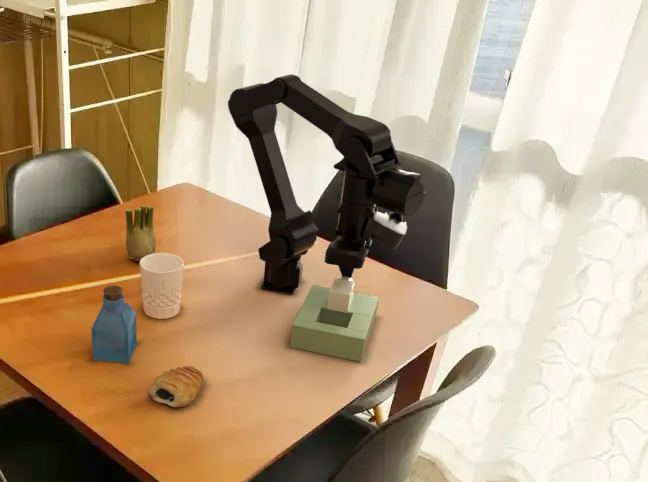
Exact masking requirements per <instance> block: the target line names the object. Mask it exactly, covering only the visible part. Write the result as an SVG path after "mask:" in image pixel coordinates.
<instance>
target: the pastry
mask: <svg viewBox="0 0 648 482" xmlns="http://www.w3.org/2000/svg"><path fill="white" fill-rule="evenodd" d="M203 381H204V374H203V373H202V371H200V370H199V369H197V368H196V367H194V366H190V365H185V366H181V367H179V366H177V367H176V368H170V369H169V370H166V371H163V373H162V375H159V376H157V377H156V378H155V380H154V382H153V384H152V386H151V388H149V390H148V394H149V396H150V397H151V399H152V400H153V401H155V402H157V403H159V404H162V405H168V406H170V407H172V408H183V407H186V406H188V405H190V404H191V403H192V402H193V401H195V399H196V397H197V396H198V394H199V393H200V390H201V388H202V386H203V383H204V382H203Z"/></svg>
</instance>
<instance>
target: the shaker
mask: <svg viewBox="0 0 648 482" xmlns="http://www.w3.org/2000/svg"><path fill="white" fill-rule="evenodd" d="M329 288H330V290H329V295H328V303H327V309H329V310H334V311H339V312H344V313H348V310H349V308H350V305H351V302H352V300H353V294H354V292H355V289H356V281H355V280H354V279H352V277H351V278H350V277H346V276H344V277H342V276H340V277H339V278H334V279H333V281H332V284H331V286H330V287H329Z"/></svg>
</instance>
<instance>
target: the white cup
mask: <svg viewBox="0 0 648 482" xmlns="http://www.w3.org/2000/svg"><path fill="white" fill-rule="evenodd" d="M184 265H185V264H184V260H183V258H182V257H181V256H179V255H177V254H173V253H169V252H155V253H154V254H150V255H147V256H145V257H143V258H142V259H141V260H140V262H139V270H140V272H139V273H140V287H141V297H142V298H141V299H142V308H143V309H142V311H143V313H144V314H145V315H146V316H148V317H150V318H153V319H156V320H157V319H158V320H168V319H170V318H174V317H176V316H177V315H178V314H179V312H180V309H181V299H182V291H183V277H184Z"/></svg>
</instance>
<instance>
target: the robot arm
mask: <svg viewBox="0 0 648 482" xmlns="http://www.w3.org/2000/svg"><path fill="white" fill-rule="evenodd" d="M279 104H282V105H284V106H286V107H287V108H288V109H290V110H291V111H293V112H294V113H296V114H297V115H298V116H299V117H301V118H302V119H304V120H306V121H307V122H309V123H310V124H311V125H313V126H314V127H316V128H317V129H319V130H320V131H321V132H323V133H324V134H326V135H327V136H328V137H329V138H330V139H331V141H332V143H333V146H334V148H335V150H336V151H337V152H339V153H340V154H341V155H342V159H341V160H339V161H338V162H337V163H335V164H333V169H335V170H337V171H341V172H344V174H343V175H344V176H343V183H342V190H341V198H340V203H339V205H338V208H337V214H338V221H337V225H336V227H335V230H334V236H337V237H336V239H334V240H333V241H332V242H330V243H329V245H328V246H327V249H326V250H325V254H324V263H325V264H327V265H333V266H338V269H339V271H340V274H341V277H344V276H346V277H350V278H351V279H352V278H353V277H352V276H353V274H354V271H355V270H359V269H360V270H361V269H363V266H364V264H365V261H366V257H367V256H368V253H369V248H371V245H372V242H373V240H372V239H374V240H375V241H377V242H379V243H381V244H383V245H385V246H387V248H388V249H391V250H396V249H398V247H399V245H400V244H401V242H402V240H403V239H404V237H405V236H406V235H407V230H408V225H407V222H406V221H404V217H407V218H412V217H414V216H415V215H416V214H417V213H418V211H419V210H420V209H421V207H422V205H423V203H424V200H425V196H426V191H425V186H424V183H423V182H421V180H422V174H420V173H417V172H410V171H405V170H403V169H400V168H401V167H402V161H401V159H400V157H399V155H398V152H397V150H396V148H395V145H394V143H393V140H392V134H391V130H390V128H389V127H388V126H387V125H386V124H385V123H383V122H381V121H379V120H376V119H374V118H371V117H369V116H365V115H360V114H356V113H352V112H350V111H347V110H346V109H344V108H343V107H342V106H340V105H338V104H337V103H335V102H334V101H332V100H331V99H329V98H328V97H326V96H325V95H323V94H322V93H320V92H319V91H318V90H316V89H314V88H313V87H312V86H310V85H308V84H307V83H305V82H304V81H302V80H301V78H300V77H299V76H298V75H295V74H292V73H291V74H290V73H289V74H286V75H282V76H279V77H275V78H274V79H273V80H271V81H268V82H266V83H263V82H260V83H256V84H252V85H247V86H245V87H240V88H236V89H234V90H233V91H232V92H231V94H230V95H229V99H228V100H227V109H228V112H229V114H230V116H231V118H232V120H233V123H234V125H235V127H236V128H237V129H238V131H240V132H241V134H243V135H244V136H245V137H246V139H248V142H249V145H250V148H251V152H252V154H253V159H254V162H255V165H256V168H257V171H258V174H259V178H260V181H261V184H262V187H263V191H264V194H265V197H266V200H267V204H268V206H269V210H270V218H269V224H268V229H267V231H268V236H269V241H268V242H266V243H264V244H263V245H262V246H260V247H259V248H258V250H257V251H258V256H259V259H260V260H261V261H263V262H264V272H263V281H262V283H261V285H260V289H262V290H265V291H270V292H276V293H281V294H287V295H294V294H295V292H296V290H297V289H298V288H299V287H300V285H301V284H302V276H303V268H304V264H303V263H301V259H302V256H304V255H307V253H308V251H309V250H310V249H312V248H313V247H314V245H315V243H316V241H317V231H319V229H318V228H317V226H316V223H315V220H314V216H313V212H312V211H311V210H307V211H304V210H303V208H301V207H300V206H299V205H298V203H297V199H296V196H295V194H294V190H293V187H292V183H291V180H290V178H289V173H288V170H287V168H286V167H287V166H286V163H285V160H284V157H283V154H282V150H281V146H280V144H279V141H278V137H277V134H276V130H275V129H276V124H277V118H278V107H277V105H279ZM378 158H382V160H379V161H376V162H374V163H372V161H373V160H376V159H378ZM379 209H382V210H386V211H389V212H383V213H382V212H381V211H379Z"/></svg>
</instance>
